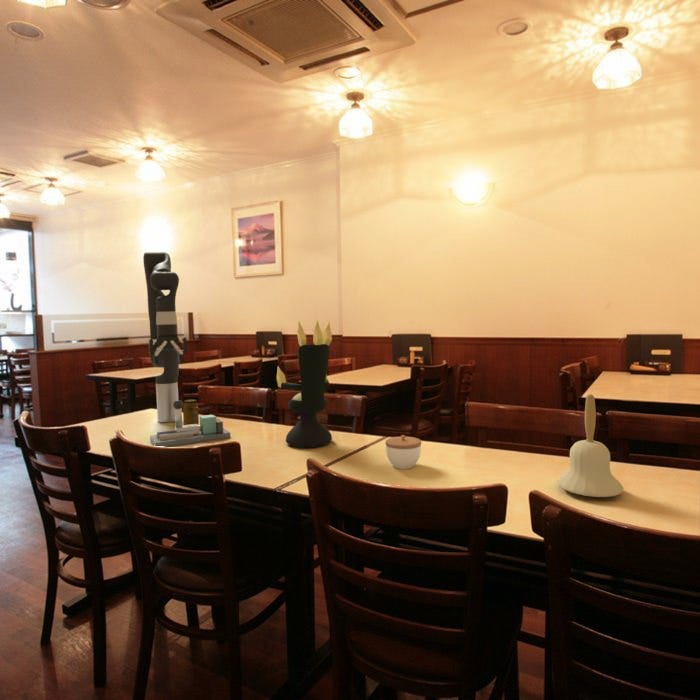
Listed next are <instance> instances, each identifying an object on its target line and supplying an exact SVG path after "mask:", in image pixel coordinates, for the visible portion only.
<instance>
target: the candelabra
mask: <svg viewBox="0 0 700 700" xmlns="http://www.w3.org/2000/svg"><path fill="white" fill-rule="evenodd" d="M296 330H297V331H296V333H297V340H298V345H299V346H298V348H297V358H298V359H297V360H298V365H299V367H298V369H299V376H300V384H299V383H293V382H287V379H286V376H285V375H286V374H284V372H283V371H282V370H281V368H280V367H279V366H277V372H276V383H277V387H278V388H283V389H286V390H293V391H300V392H299V393H297V394H295V395H294V396H293V397H292V398H291V399H290V400H289V402H288V408H289V410H290V411H291V412H293V413H296V414H297V413H298V414H299V415H300V416H299V421H298V422H297V423H296V424H295V425H294V426H293V427H292V428H291V429H289V431H288V432H287V434H286V437H285V442H286V444H287V445H289V446H290V447H293V448H298V449H299V448H303V449H304V448H305V449H308V448H319V447H323V446H326V445H328V444H330V442H331V441H332V440H333V436H332V433H331V431H329V429H328V428H327V427H326V426H325V425H323V424H322V423H321V422H320V421H319V420H318V418H317V413H320V412H322V411H324V410H326V409H327V406H328V401H327V399H326V398H325V391H326V389H325V388H329V387H330V382H329V380H328V375H327V373H328V367H329V359H330V349H331V348H330V344H331V342H332V341H333V335H332V330H331V323H330V321H328V322H327V323H326V325H325V326H324V329H323V330H321V328H320V325H319V321H318V319H316V320H315V324H314V327H313V329H312V331H313V333H312V334H313V335H312V338H313V340H312V341H313V343H312V344H307V337H306V336H307V335H306V333H305V331H304V329H303V326H302V324H301V322H300V321H298V322H297V329H296Z"/></svg>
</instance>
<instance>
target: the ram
mask: <svg viewBox="0 0 700 700" xmlns="http://www.w3.org/2000/svg"><path fill="white" fill-rule="evenodd" d="M173 407H174V408H175V421H174V422H175V426H174V430H175V433H179V432H186V431H193V434H199V431H202V425H201V426H200V424H199V425H197V424H191V425H184V424H183V407H184V401H182V400H179V399H178V400H176V401H174V403H173Z"/></svg>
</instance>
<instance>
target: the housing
mask: <svg viewBox="0 0 700 700" xmlns="http://www.w3.org/2000/svg"><path fill="white" fill-rule="evenodd" d="M216 418H217V416H216V415H214V414H208V415H207V414H206V415H199V426H201V425H202V431H201V432H202V433H203V434H206V433H214V432H217V430H216Z"/></svg>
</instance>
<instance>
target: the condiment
mask: <svg viewBox="0 0 700 700" xmlns="http://www.w3.org/2000/svg"><path fill="white" fill-rule="evenodd" d="M182 422H183V425H191V424H197V425H199V426H200V415H199V407H198V400H197V399H185V400H183V407H182Z"/></svg>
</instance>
